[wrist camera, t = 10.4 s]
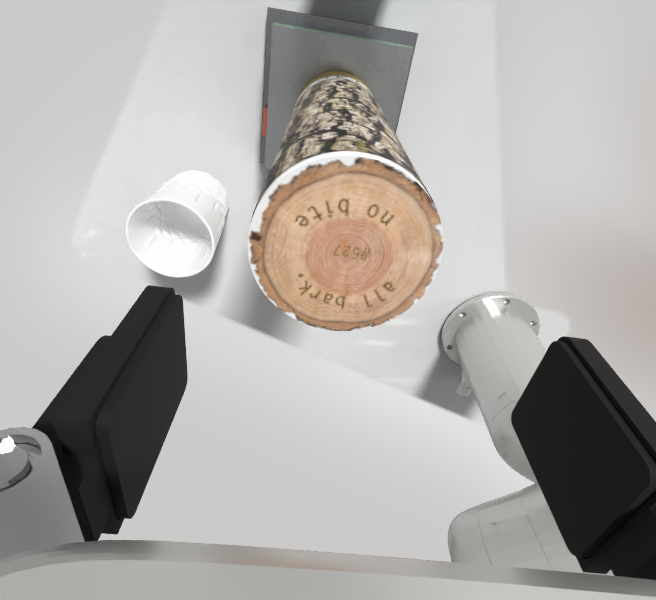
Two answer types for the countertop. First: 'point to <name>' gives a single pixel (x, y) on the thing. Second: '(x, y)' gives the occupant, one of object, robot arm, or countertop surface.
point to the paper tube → (343, 214)
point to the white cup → (179, 224)
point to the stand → (328, 66)
